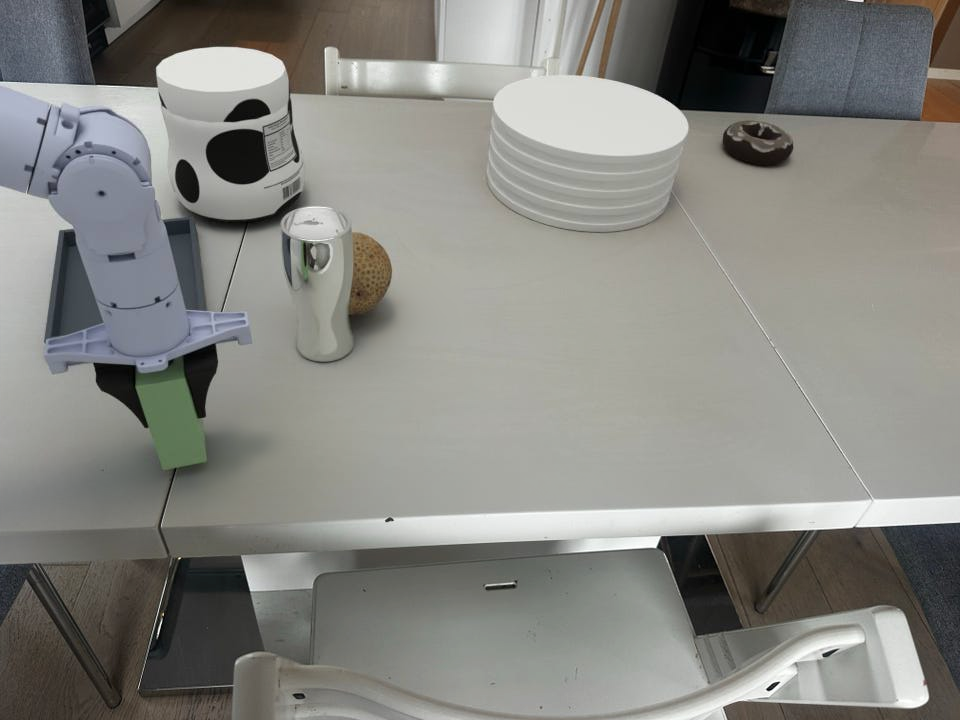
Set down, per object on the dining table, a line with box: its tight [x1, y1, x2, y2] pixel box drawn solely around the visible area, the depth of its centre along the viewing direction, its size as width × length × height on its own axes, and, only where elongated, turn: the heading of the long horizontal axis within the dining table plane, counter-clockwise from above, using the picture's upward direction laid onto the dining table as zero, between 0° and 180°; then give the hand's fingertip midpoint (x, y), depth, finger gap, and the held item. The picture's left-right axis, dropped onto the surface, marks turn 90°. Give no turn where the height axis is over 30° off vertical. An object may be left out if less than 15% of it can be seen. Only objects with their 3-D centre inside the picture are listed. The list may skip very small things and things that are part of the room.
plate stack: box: [486, 74, 690, 233], centre depth 105 cm, size 28×28×12 cm
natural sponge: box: [349, 231, 393, 316], centre depth 78 cm, size 9×9×10 cm
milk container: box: [155, 46, 306, 223], centre depth 92 cm, size 17×17×18 cm
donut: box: [722, 119, 794, 166], centre depth 121 cm, size 12×12×4 cm
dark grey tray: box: [43, 216, 208, 344], centre depth 81 cm, size 15×21×3 cm
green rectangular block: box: [135, 355, 208, 471], centre depth 59 cm, size 4×5×12 cm
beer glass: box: [280, 205, 355, 363], centre depth 72 cm, size 7×7×15 cm
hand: (174, 414), depth 61 cm, fingers closed on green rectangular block, 3 cm apart
